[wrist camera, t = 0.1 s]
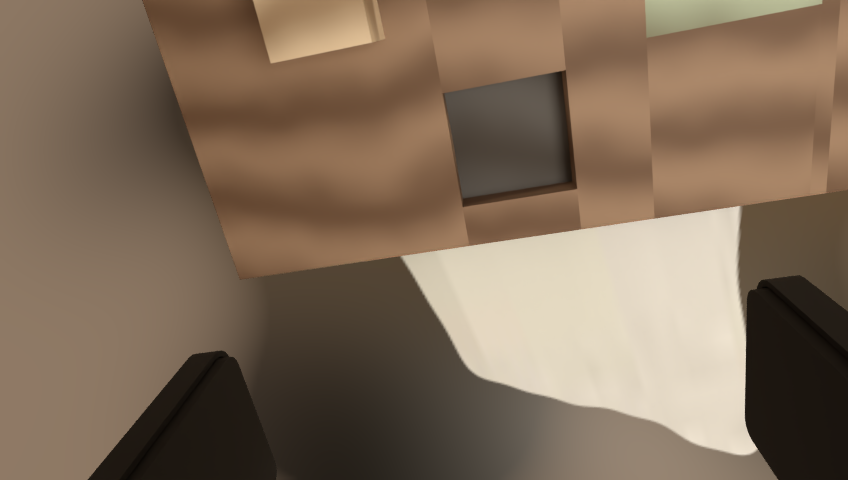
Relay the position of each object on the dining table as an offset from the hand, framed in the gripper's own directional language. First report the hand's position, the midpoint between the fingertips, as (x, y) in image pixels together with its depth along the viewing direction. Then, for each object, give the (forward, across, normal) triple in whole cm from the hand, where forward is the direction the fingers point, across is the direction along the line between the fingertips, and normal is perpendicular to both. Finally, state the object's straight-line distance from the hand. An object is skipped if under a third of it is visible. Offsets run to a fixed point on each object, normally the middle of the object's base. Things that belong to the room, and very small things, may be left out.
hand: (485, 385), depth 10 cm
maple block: (+29, +8, -9) cm, 31 cm away
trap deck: (+31, -6, -3) cm, 32 cm away
